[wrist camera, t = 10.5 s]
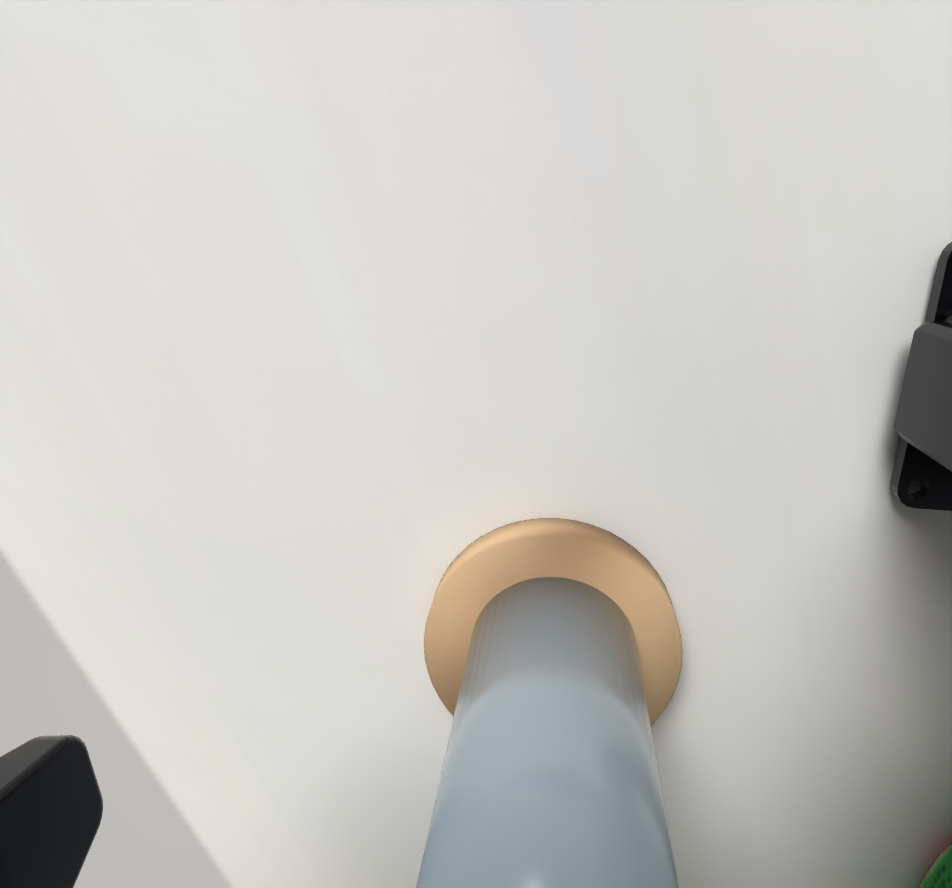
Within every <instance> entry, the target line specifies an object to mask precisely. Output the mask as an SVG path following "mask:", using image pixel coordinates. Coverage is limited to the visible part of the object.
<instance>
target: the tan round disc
mask: <svg viewBox="0 0 952 888" xmlns="http://www.w3.org/2000/svg"><path fill="white" fill-rule="evenodd" d="M539 577H562V578H568V579H573V580H576V581H580V582H583V583H586V584H588V585H590V586H592V587H594V588H596V589H598V590H600V591H601V592H603V593H604V594H606V595H607V596H608V597H609V598H611V599H612V600H613V601H614V602H615V603H616V604H617V605H618V606H619V607H620V608H621V610H622V611H623V612H624V614H625V615H626V617H627V618H628V620H629V622H630V624H631V626H632V629H633V631H634V634H635V639H636V644H637V649H638V655H639V661H640V667H641V673H642V679H643V685H644V691H645V696H646V702H647V708H648V714H649V720H650V725H651V724H652V723H653V722H654V721H655V720H656V719H657V718H658V717H659V715H660V714H661V713H662V712H663V710H664V709H665V708H666V706H667V704H668V702H669V701H670V699H671V697H672V695H673V693H674V690H675V688H676V685H677V682H678V679H679V674H680V670H681V662H682V645H681V636H680V632H679V628H678V624H677V620H676V616H675V613H674V609H673V606H672V602H671V598H670V596H669V594H668V591H667V589H666V587H665V584H664V583H663V581H662V579H661V578H660V576H659V574H658V573H657V571H656V570H655V569H654V568H653V566H652V565H651V564H650V563H649V561H648V560H647V559H646V558H645V557H644V556H643V555H642V554H641V553H640V552H639V551H637V550H636V549H635V548H634V547H633V546H631V545H630V544H628V543H627V542H626V541H624V540H623V539H621V538H619V537H618V536H616V535H614V534H612V533H610V532H609V531H606V530H604V529H601V528H599V527H596V526H594V525H591V524H587V523H583V522H579V521H575V520H567V519H560V518H539V519H530V520H524V521H519V522H515V523H511V524H508V525H505V526H502V527H500V528H497V529H494V530H493V531H491V532H489V533H487V534H485V535H483V536H481V537H480V538H478V539H477V540H475V541H474V542H473V543H471V544H470V545H468V546H467V547H466V548H465V549H464V550H463V551H462V552H461V553H460V554H459V555H458V556H457V557H456V558H455V559H454V561H453V562H452V563H451V564H450V566H449V567H448V568H447V570H446V572H445V574H444V575H443V577H442V579H441V581H440V583H439V586H438V588H437V591H436V593H435V596H434V599H433V602H432V605H431V608H430V611H429V614H428V618H427V622H426V626H425V634H424V654H425V661H426V666H427V670H428V673H429V676H430V679H431V682H432V685H433V686H434V688H435V690H436V692H437V694H438V696H439V698H440V699H441V701H442V702H443V704H444V705H445V706H446V708H447V709H448V711H449V712H450V713H451V714H452V715H453V716H454V714H455V709H456V705H457V700H458V695H459V691H460V686H461V682H462V677H463V673H464V668H465V664H466V659H467V654H468V650H469V645H470V641H471V636H472V632H473V628H474V625H475V622H476V620H477V618H478V616H479V614H480V613H481V611H482V610H483V608H484V607H485V606H486V605H487V603H488V602H489V601H490V600H491V599H492V598H493V597H495V596H496V595H497V594H498V593H500V592H501V591H503V590H504V589H506V588H508V587H509V586H512V585H514V584H516V583H518V582H522V581H525V580H528V579H533V578H539Z"/></svg>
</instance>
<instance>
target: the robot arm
mask: <svg viewBox="0 0 952 888" xmlns="http://www.w3.org/2000/svg"><path fill="white" fill-rule="evenodd" d="M894 428H895V430H896V431H897V433H898V434H899V435H900V436H901V437H900V442H899V447H898V451H897V456H896V460H895V465H894V470H893V474H892V479H891V491H892V493H893V495H894V496H895V497H896V498H897V499H898V500H900V501H901V502H902V503H903V504H905V505H906V506H908V507H912V508H920V509H935V510H949V511H952V242H951V243H949V244H948V245H947V246H946V247H945V248H944V250H943V251H942V253H941V255H940V258H939V261H938V265H937V270H936V275H935V279H934V284H933V289H932V293H931V298H930V303H929V307H928V312H927V317H926V321H925V322H924V323H923V324H922V325H921V326H920V327H918V328H917V329H916V330H915V332H914V335H913V340H912V345H911V350H910V354H909V359H908V364H907V369H906V373H905V378H904V383H903V387H902V392H901V397H900V402H899V406H898V411H897V416H896V421H895V426H894ZM915 480H922V486H921V488H920V489H919V490H918V491H916V492H915V493H908V487H909V485H910V484H911V483H912V482H914V481H915ZM102 811H103V801H102V796H101V792H100V789H99V786H98V783H97V779H96V776H95V773H94V770H93V767H92V764H91V761H90V758H89V754H88V751H87V748H86V746H85V743H84V742H83V741H82V740H81V739H80V738H79V737H76V736H72V735H61V736H40V737H36V738H34V739H32V740H29V741H28V742H26V743H24V744H22V745H21V746H19V747H17V748H16V749H14V750H12V751H10V752H8V753H7V754H5V755H3V756H1V757H0V888H73V887H74V885H75V882H76V880H77V878H78V875H79V873H80V870H81V868H82V866H83V863H84V861H85V859H86V856H87V854H88V852H89V849H90V847H91V845H92V842H93V840H94V837H95V835H96V833H97V830H98V828H99V825H100V821H101V818H102Z"/></svg>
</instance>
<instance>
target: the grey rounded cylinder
mask: <svg viewBox="0 0 952 888" xmlns="http://www.w3.org/2000/svg"><path fill="white" fill-rule="evenodd" d="M416 888H678V884H677V878H676V872H675V866H674V861H673V855H672V849H671V843H670V837H669V831H668V825H667V820H666V814H665V808H664V802H663V796H662V790H661V784H660V778H659V773H658V767H657V761H656V755H655V749H654V743H653V737H652V732H651V726H650V720H649V714H648V708H647V702H646V696H645V691H644V685H643V679H642V673H641V667H640V661H639V655H638V649H637V644H636V639H635V634H634V631H633V629H632V626H631V624H630V622H629V620H628V618H627V617H626V615H625V614H624V612H623V611H622V610H621V608H620V607H619V606H618V605H617V604H616V603H615V602H614V601H613V600H612V599H611V598H609V597H608V596H607V595H606V594H604V593H603V592H601V591H600V590H598V589H596V588H594V587H592V586H590V585H588V584H586V583H583V582H580V581H576V580H573V579H568V578H562V577H539V578H533V579H528V580H525V581H522V582H518V583H516V584H514V585H512V586H509V587H508V588H506V589H504V590H503V591H501V592H500V593H498V594H497V595H496V596H495V597H493V598H492V599H491V600H490V601H489V602H488V603H487V605H486V606H485V607H484V608H483V610H482V611H481V613H480V614H479V616H478V618H477V620H476V622H475V625H474V628H473V632H472V636H471V641H470V645H469V650H468V654H467V659H466V664H465V668H464V673H463V677H462V682H461V686H460V691H459V695H458V700H457V705H456V709H455V714H454V718H453V723H452V727H451V732H450V736H449V741H448V746H447V750H446V755H445V759H444V764H443V768H442V773H441V777H440V782H439V787H438V791H437V796H436V800H435V805H434V809H433V814H432V818H431V823H430V828H429V832H428V837H427V841H426V846H425V850H424V855H423V860H422V864H421V869H420V873H419V878H418V882H417V887H416Z"/></svg>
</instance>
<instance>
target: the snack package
mask: <svg viewBox="0 0 952 888" xmlns="http://www.w3.org/2000/svg"><path fill="white" fill-rule="evenodd" d="M918 888H952V844H950V845H949V846H948V847H947V848H946V849H945V850H944V851H943V852H942V853H941V854H940V855H939V856H938V857H937V858H936V860H935V861H934V862H933V864H932V865H931V867H930V868H929V870H928V871H927V873H926V874H925V876H924V878H923V879H922V881H921V883H920V885H919V887H918Z"/></svg>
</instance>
